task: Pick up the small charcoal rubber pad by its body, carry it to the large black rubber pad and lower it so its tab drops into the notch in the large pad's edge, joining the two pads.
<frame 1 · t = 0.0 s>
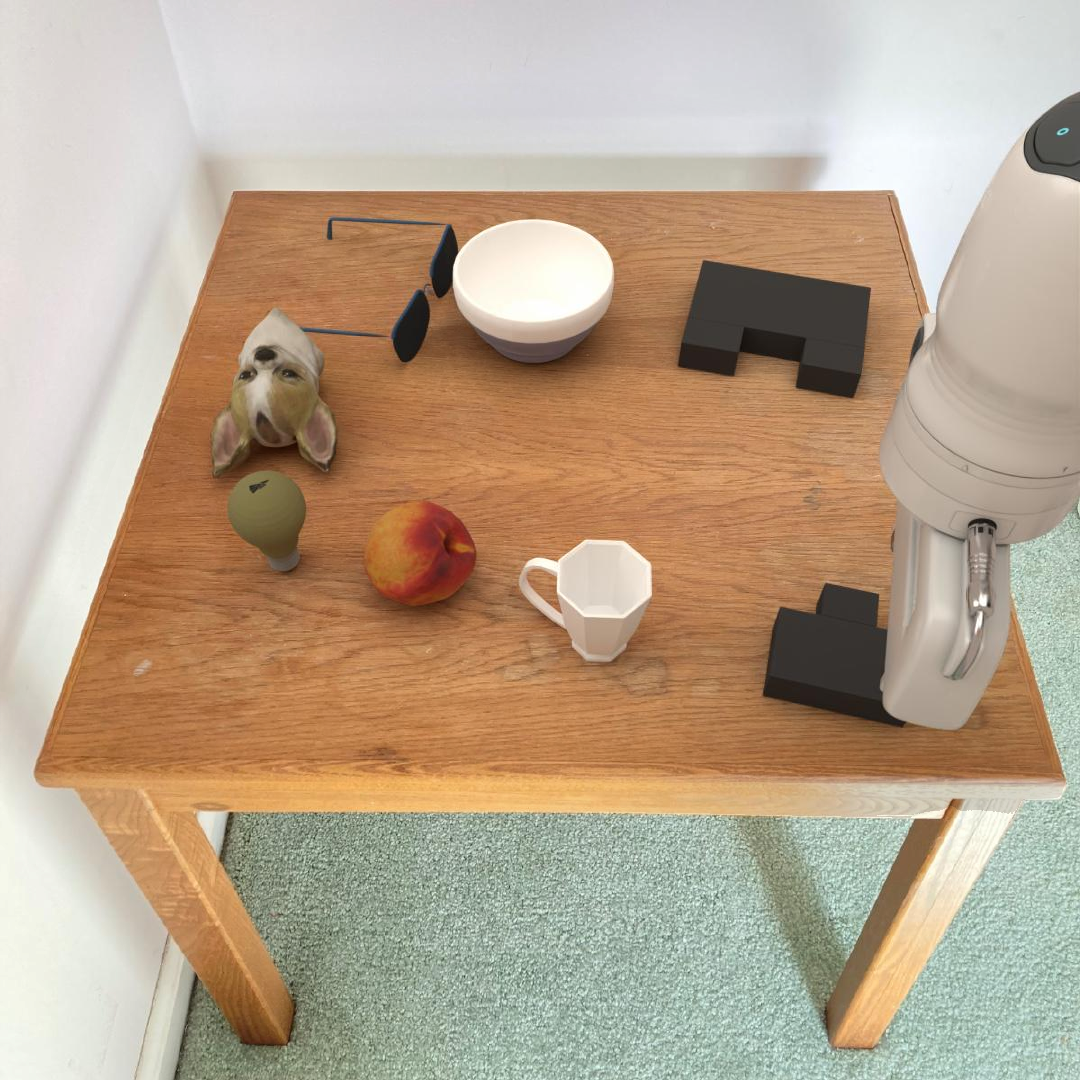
hand: (900, 611, 58), 18 cm above the table, tool pointing down, fingers open, 8 cm apart
fruit: (422, 585, 81), on the table
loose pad: (835, 676, 75), on the table
cup: (580, 632, 78), on the table
light bulb: (286, 566, 82), on the table
ceramic sculpture: (285, 427, 90), on the table
bowl: (533, 334, 98), on the table
base pad: (772, 338, 97), on the table
sunglasses: (365, 304, 100), on the table
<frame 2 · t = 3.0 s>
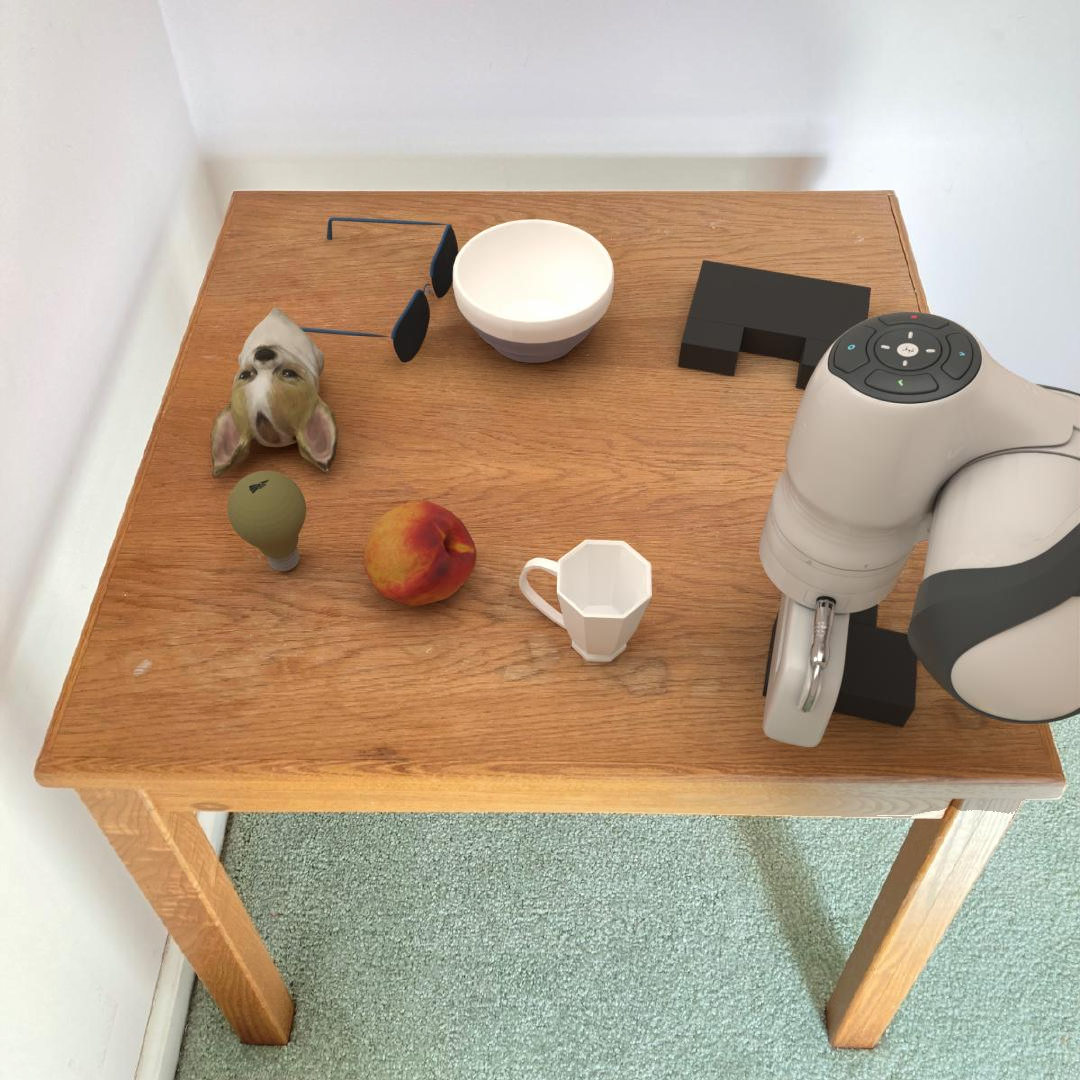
hand: (790, 653, 75), 2 cm above the table, tool pointing down, fingers closed on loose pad, 6 cm apart
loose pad: (835, 676, 75), on the table, touching gripper
everything else where it was.
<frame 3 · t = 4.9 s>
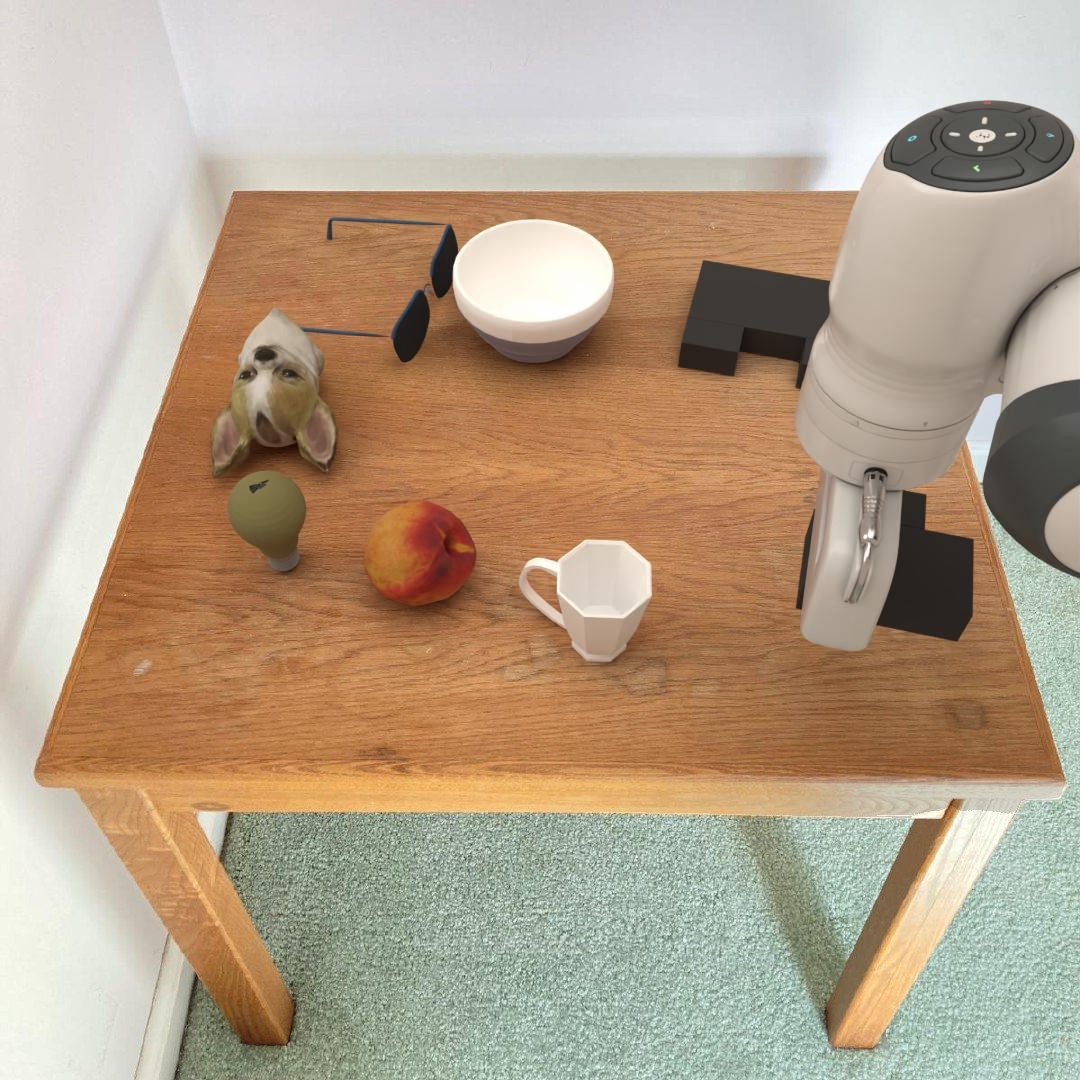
hand: (827, 560, 66), 13 cm above the table, tool pointing down, fingers closed on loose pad, 6 cm apart
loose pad: (878, 587, 66), point 11 cm above the table, touching gripper
everything else where it was.
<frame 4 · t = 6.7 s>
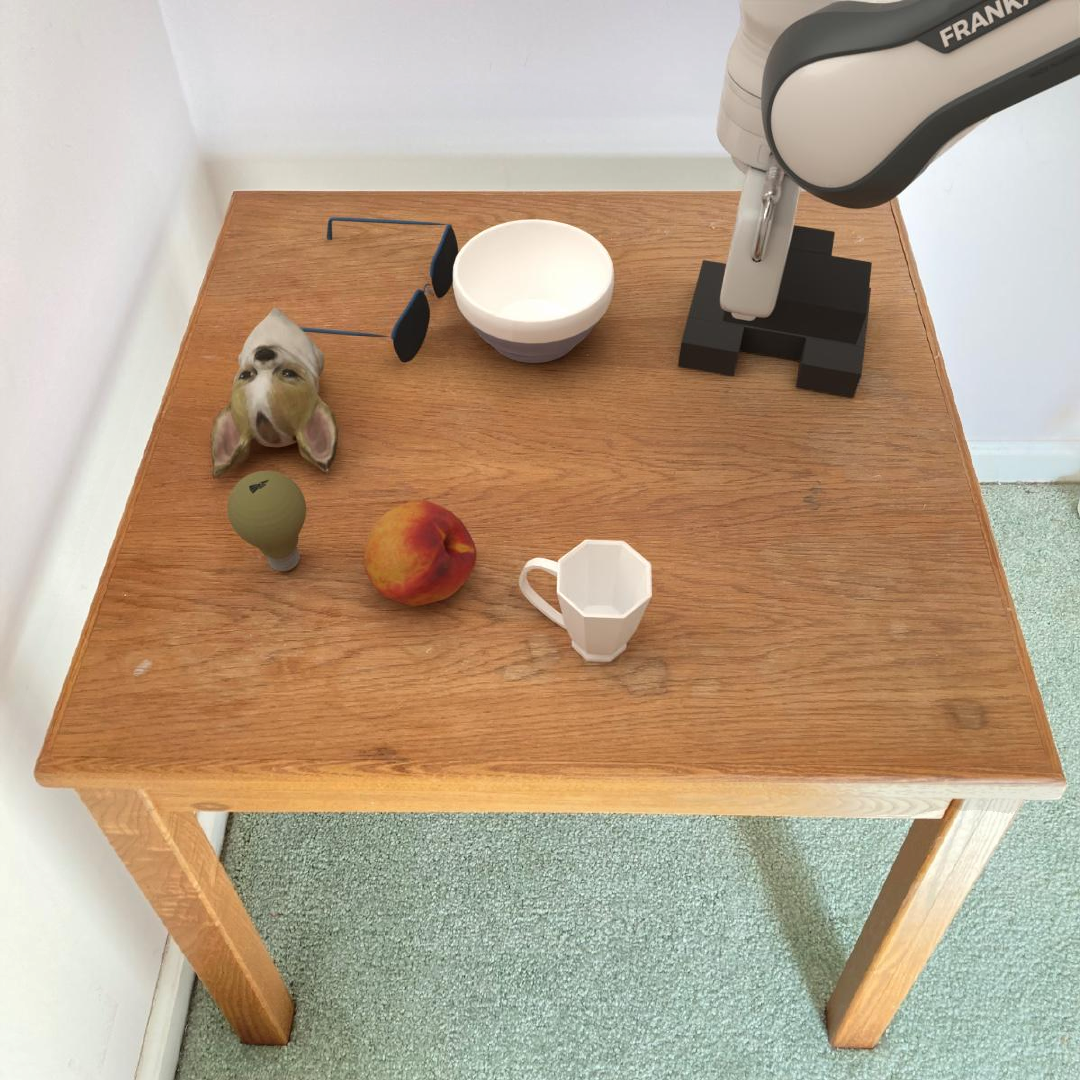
hand: (750, 281, 78), 16 cm above the table, tool pointing down, fingers closed on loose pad, 6 cm apart
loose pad: (792, 307, 79), point 14 cm above the table, touching gripper
everything else where it was.
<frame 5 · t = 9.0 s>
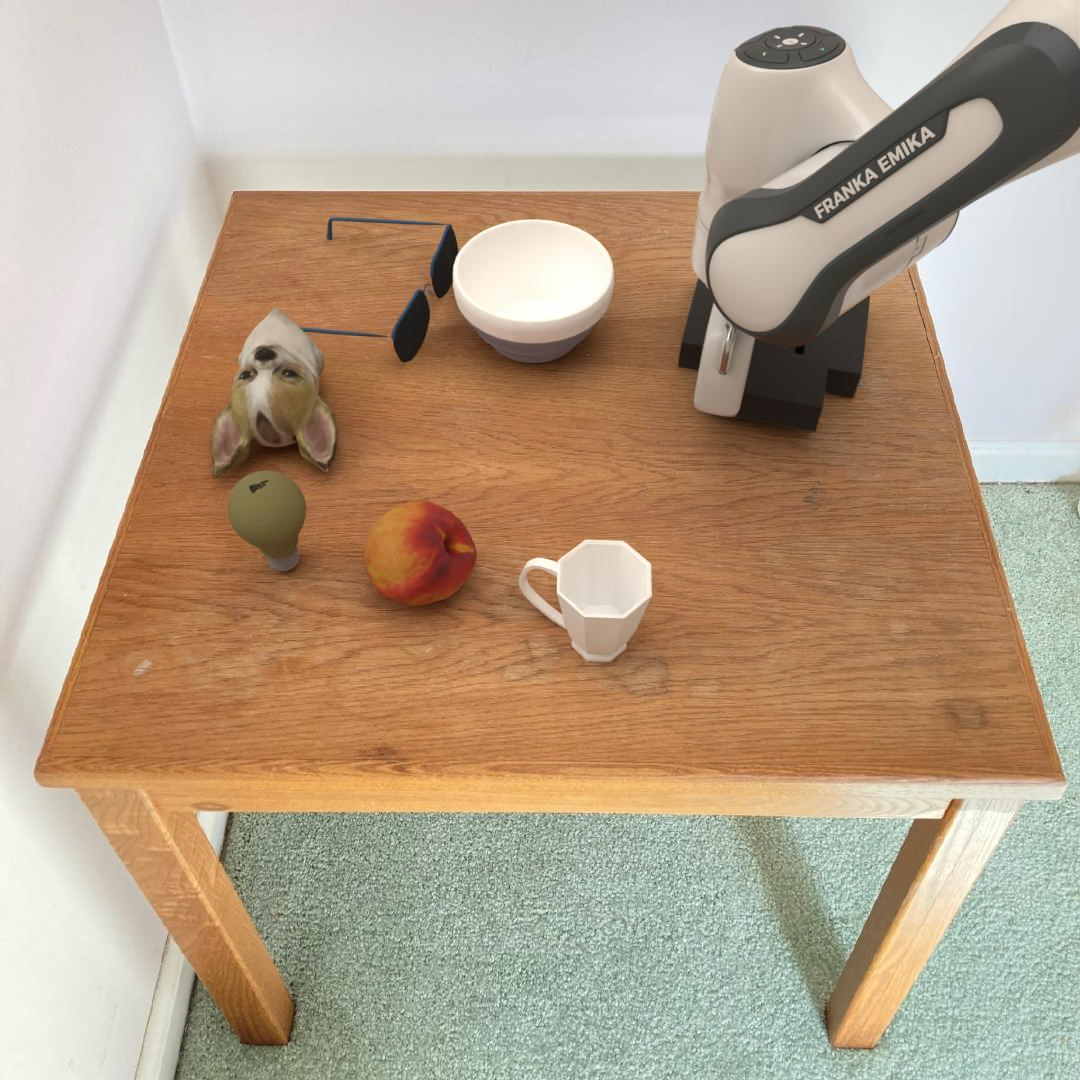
hand: (724, 375, 90), 3 cm above the table, tool pointing down, fingers closed on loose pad, 6 cm apart
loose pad: (761, 397, 91), point 1 cm above the table, touching gripper
everything else where it was.
when the fingers open (3 cm above the table, at t = 10.3 s): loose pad drops 1 cm, on the table.
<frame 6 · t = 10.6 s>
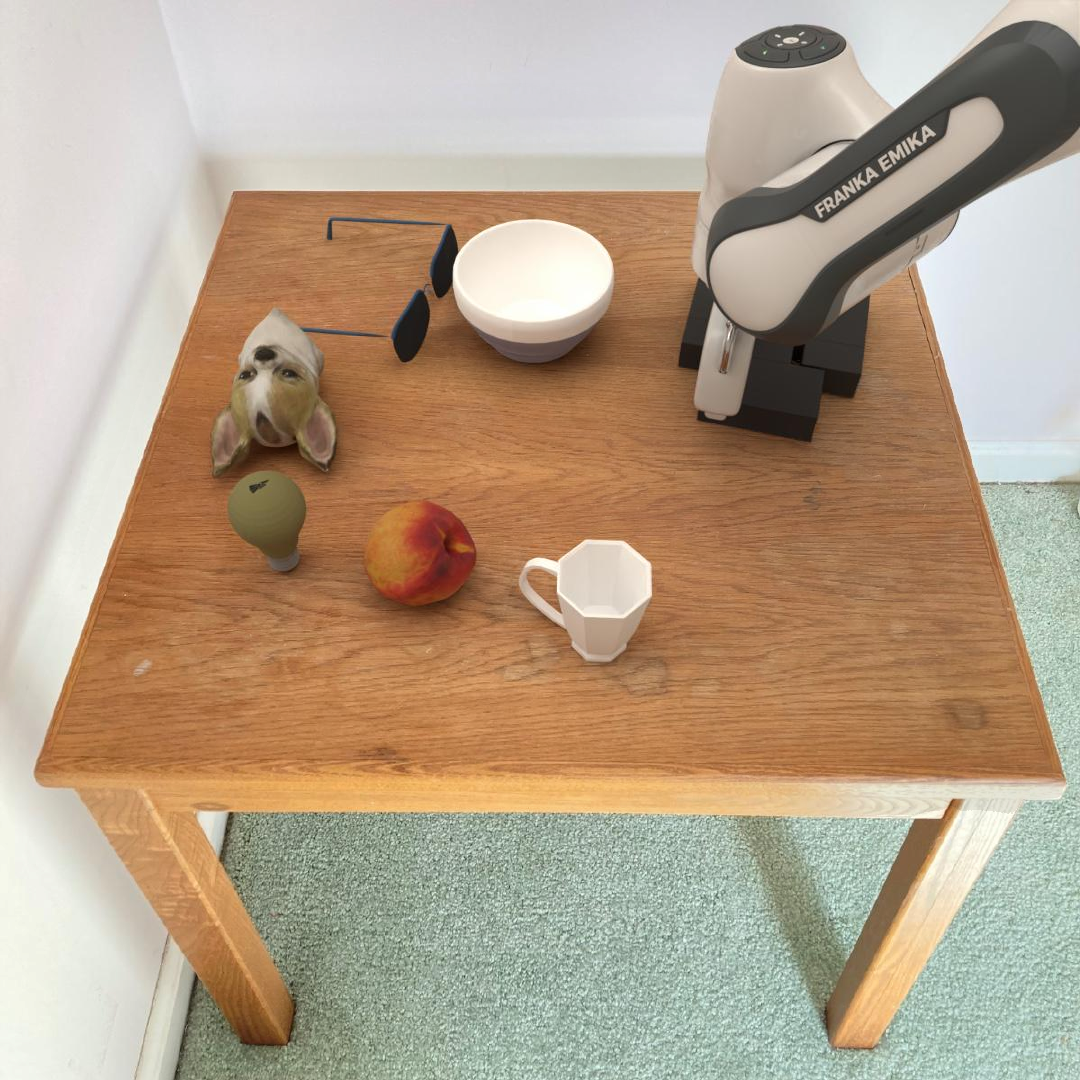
hand: (724, 375, 90), 3 cm above the table, tool pointing down, fingers open, 8 cm apart
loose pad: (757, 407, 92), on the table
everything else where it was.
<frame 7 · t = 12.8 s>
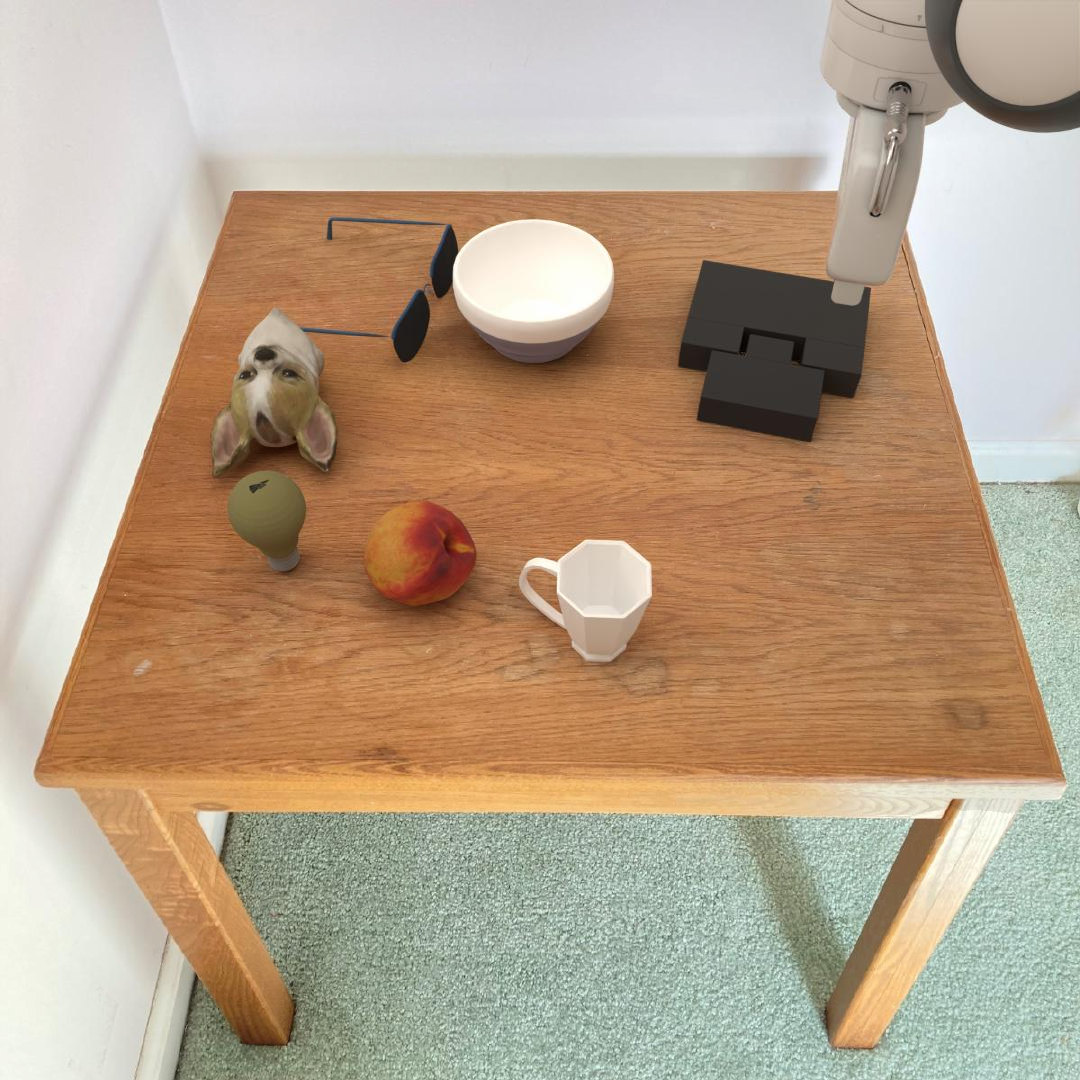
hand: (851, 251, 67), 24 cm above the table, tool pointing down, fingers open, 8 cm apart
nothing on the table moved.
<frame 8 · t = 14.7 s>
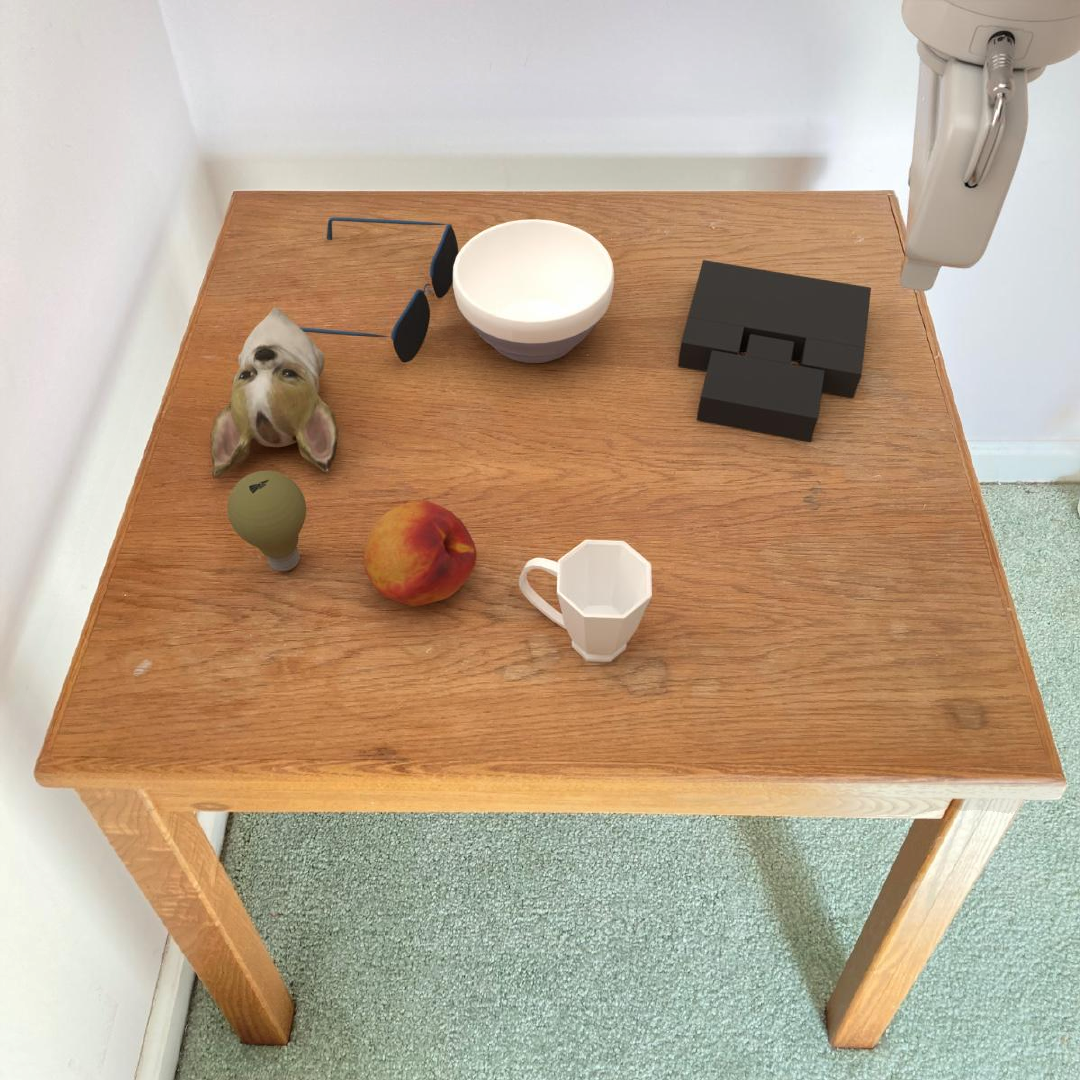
hand: (918, 230, 60), 29 cm above the table, tool pointing down, fingers open, 8 cm apart
nothing on the table moved.
at the end: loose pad 0.2 cm from the target spot on the table beside the base pad, on the table; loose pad tilted 0°; the gripper is holding nothing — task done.
